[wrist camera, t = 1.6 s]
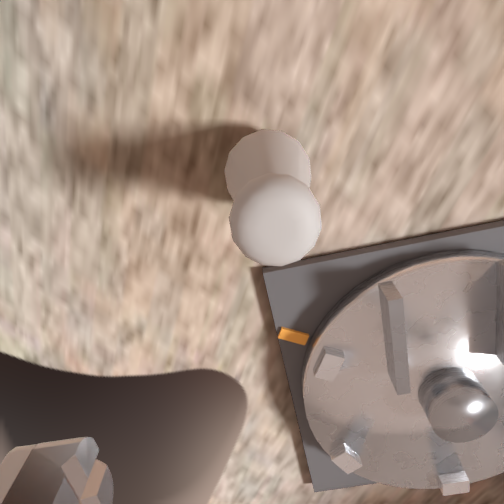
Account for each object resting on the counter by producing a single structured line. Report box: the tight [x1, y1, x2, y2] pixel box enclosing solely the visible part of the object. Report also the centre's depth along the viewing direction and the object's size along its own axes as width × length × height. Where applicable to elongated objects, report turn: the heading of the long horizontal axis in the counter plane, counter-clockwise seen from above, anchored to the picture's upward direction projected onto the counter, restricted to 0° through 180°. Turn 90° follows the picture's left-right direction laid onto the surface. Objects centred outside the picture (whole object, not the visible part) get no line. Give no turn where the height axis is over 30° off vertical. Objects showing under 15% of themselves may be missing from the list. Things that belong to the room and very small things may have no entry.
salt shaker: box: [224, 129, 322, 266], centre depth 24 cm, size 6×6×13 cm
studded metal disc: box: [302, 250, 504, 496], centre depth 34 cm, size 24×24×5 cm
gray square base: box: [263, 220, 504, 492], centre depth 37 cm, size 26×26×1 cm
